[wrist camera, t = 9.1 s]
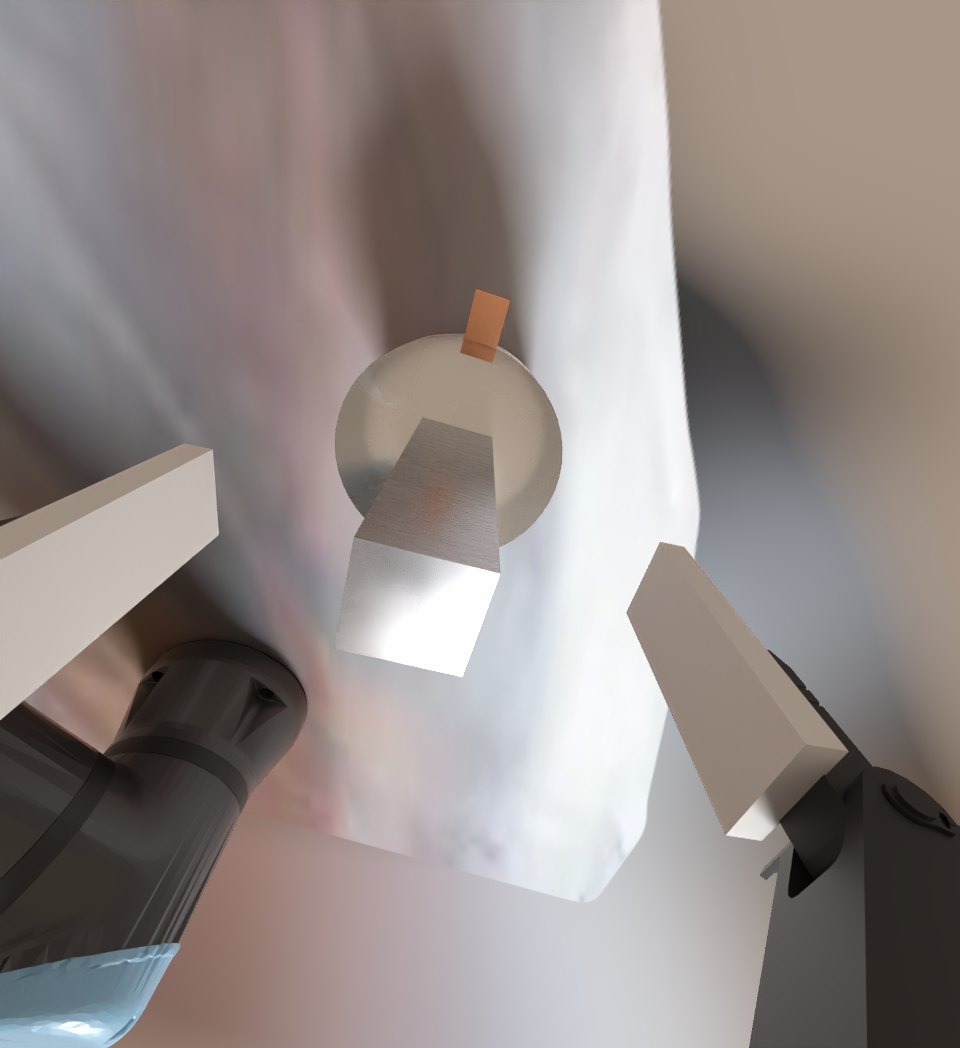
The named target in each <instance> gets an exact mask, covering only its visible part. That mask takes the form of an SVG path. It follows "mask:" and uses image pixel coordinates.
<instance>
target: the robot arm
mask: <svg viewBox="0 0 960 1048" xmlns="http://www.w3.org/2000/svg"><path fill="white" fill-rule="evenodd" d="M218 535H219V529H218V515H217V502H216V488H215V475H214V461H213V449H208V448H203V447H199V446H194V445H189V444H182V445H180V446H177V447H175V448H173V449H171V450H168V451H166V452H164V453H162V454H160V455H157V456H155V457H153V458H151V459H149V460H146V461H144V462H142V463H140V464H138V465H135V466H133V467H131V468H129V469H126V470H124V471H122V472H120V473H118V474H115V475H113V476H111V477H109V478H107V479H104V480H102V481H100V482H98V483H96V484H93V485H91V486H89V487H87V488H84V489H82V490H80V491H78V492H76V493H73V494H71V495H69V496H67V497H65V498H62V499H60V500H58V501H56V502H54V503H51V504H49V505H47V506H45V507H42V508H40V509H38V510H36V511H34V512H31V513H29V514H25V515H21V516H18V517H14V518H10V519H6V520H2V521H0V1048H107V1047H109V1046H111V1045H112V1044H114V1043H115V1042H117V1041H118V1040H119V1039H120V1038H122V1037H123V1036H124V1035H125V1034H126V1033H127V1032H128V1031H129V1030H130V1029H131V1028H132V1027H133V1025H134V1024H135V1023H136V1021H137V1020H138V1018H139V1017H140V1016H141V1014H142V1012H143V1011H144V1009H145V1007H146V1005H147V1003H148V1001H149V1000H150V997H151V996H152V994H153V992H154V990H155V988H156V987H157V985H158V983H159V981H160V979H161V978H162V976H163V974H164V972H165V971H166V969H167V967H168V965H169V963H170V961H171V959H172V958H173V956H175V955H176V953H177V952H178V950H179V948H180V945H181V944H179V942H180V940H181V938H182V936H183V934H184V932H185V930H186V928H187V926H188V924H189V921H190V919H191V917H192V915H193V913H194V911H195V909H196V907H197V904H198V902H199V900H200V898H201V896H202V894H203V892H204V890H205V888H206V886H207V884H208V881H209V879H210V877H211V875H212V873H213V871H214V869H215V867H216V864H217V862H218V860H219V858H220V856H221V854H222V852H223V850H224V848H225V846H226V844H227V841H228V839H229V837H230V835H231V833H232V831H233V829H234V827H235V825H236V822H237V820H238V818H239V816H240V813H241V812H242V810H243V808H244V806H245V804H246V802H247V800H248V798H249V796H250V794H251V793H252V791H253V790H254V789H255V788H256V787H257V786H258V785H259V783H260V782H261V781H262V780H263V779H264V778H265V777H266V775H267V774H268V773H269V772H270V771H271V770H272V769H273V767H274V766H275V765H276V764H277V763H278V762H279V761H280V759H281V758H282V757H283V756H284V755H285V754H286V753H287V751H288V750H289V749H290V748H291V747H292V746H293V744H294V742H295V741H296V739H297V737H298V735H299V733H300V730H301V728H302V726H303V723H304V721H305V718H306V715H307V702H306V698H305V694H304V692H303V690H302V688H301V686H300V685H299V683H298V682H297V680H296V679H295V678H294V677H293V676H292V674H291V673H290V672H289V671H288V670H286V669H285V668H284V667H283V666H282V665H280V664H279V663H278V662H276V661H275V660H273V659H272V658H270V657H268V656H266V655H265V654H263V653H261V652H258V651H256V650H254V649H251V648H248V647H246V646H242V645H239V644H235V643H230V642H224V641H213V640H204V641H194V642H189V643H185V644H181V645H179V646H176V647H174V648H172V649H170V650H169V651H167V652H166V653H164V654H163V655H162V656H161V657H160V658H159V659H158V660H157V661H156V663H155V664H154V665H153V666H152V667H151V668H150V669H149V670H148V671H147V672H146V674H145V675H144V676H143V678H142V679H141V681H140V683H139V685H138V687H137V689H136V691H135V694H134V696H133V698H132V701H131V703H130V705H129V707H128V710H127V712H126V714H125V717H124V719H123V721H122V723H121V726H120V728H119V730H118V733H117V735H116V737H115V739H114V741H113V743H112V744H111V745H110V747H109V748H108V749H107V750H106V751H105V753H104V754H102V753H100V752H99V751H97V750H96V749H95V748H93V747H92V746H90V745H89V744H87V743H86V742H84V741H83V740H82V739H80V738H79V737H77V736H76V735H74V734H73V733H71V732H70V731H68V730H67V729H65V728H64V727H62V726H61V725H59V724H58V723H56V722H55V721H53V720H52V719H50V718H49V717H47V716H46V715H44V714H43V713H41V712H40V711H38V710H37V709H35V708H34V707H32V706H31V705H29V704H28V703H26V702H25V701H23V700H25V699H26V698H27V697H28V696H29V695H31V694H32V693H33V692H34V691H35V690H36V689H38V688H39V687H40V686H41V685H42V684H43V683H45V682H46V681H47V680H48V679H49V678H51V677H52V676H53V675H54V674H55V673H56V672H58V671H59V670H60V669H61V668H62V667H64V666H65V665H66V664H67V663H68V662H69V661H71V660H72V659H73V658H74V657H75V656H77V655H78V654H79V653H80V652H81V651H82V650H84V649H85V648H86V647H87V646H88V645H89V644H91V643H92V642H93V641H94V640H95V639H97V638H98V637H99V636H100V635H101V634H102V633H104V632H105V631H106V630H107V629H108V628H110V627H111V626H112V625H113V624H114V623H115V622H117V621H118V620H119V619H120V618H121V617H122V616H124V615H125V614H126V613H127V612H128V611H130V610H131V609H132V608H133V607H134V606H135V605H137V604H138V603H139V602H140V601H141V600H143V599H144V598H145V597H146V596H147V595H148V594H150V593H151V592H152V591H153V590H154V589H156V588H157V587H158V586H159V585H160V584H161V583H163V582H164V581H165V580H166V579H167V578H168V577H170V576H171V575H172V574H173V573H174V572H176V571H177V570H178V569H179V568H180V567H181V566H183V565H184V564H185V563H186V562H187V561H189V560H190V559H191V558H192V557H193V556H194V555H196V554H197V553H198V552H199V551H200V550H201V549H203V548H204V547H205V546H206V545H207V544H209V543H210V542H211V541H212V540H213V539H214V538H216V537H217V536H218ZM627 615H628V617H629V620H630V622H631V624H632V626H633V629H634V631H635V633H636V635H637V638H638V640H639V642H640V644H641V647H642V649H643V651H644V653H645V656H646V658H647V660H648V662H649V664H650V667H651V669H652V671H653V673H654V676H655V678H656V680H657V682H658V685H659V687H660V689H661V691H662V694H663V696H664V698H665V700H666V703H667V705H668V707H669V709H670V711H671V714H672V716H673V718H674V721H675V723H676V725H677V727H678V730H679V732H680V734H681V736H682V738H683V741H684V743H685V745H686V748H687V750H688V752H689V754H690V756H691V759H692V761H693V763H694V765H695V768H696V770H697V772H698V774H699V777H700V779H701V781H702V783H703V785H704V788H705V790H706V792H707V795H708V797H709V799H710V801H711V804H712V806H713V808H714V810H715V813H716V815H717V817H718V819H719V822H720V824H721V826H722V828H723V830H724V833H725V835H727V836H734V837H741V838H747V839H754V840H761V841H763V840H764V838H766V837H767V836H768V835H769V833H770V832H771V831H772V830H773V829H774V828H775V827H776V826H777V825H778V824H779V823H781V825H782V827H783V829H784V830H785V832H786V834H787V836H788V837H789V839H790V841H791V842H790V843H789V844H788V845H787V846H786V847H785V848H784V849H783V850H782V851H781V852H780V853H779V854H777V855H776V856H775V857H774V858H773V859H772V860H771V861H770V862H769V863H768V864H767V865H766V866H765V867H764V869H763V871H762V872H761V874H760V876H762V877H763V878H764V879H766V880H767V879H768V878H769V877H770V876H771V875H772V874H773V873H777V872H778V876H777V881H776V887H775V894H774V900H773V906H772V912H771V918H770V924H769V930H768V936H767V942H766V948H765V955H764V961H763V967H762V973H761V979H760V985H759V991H758V997H757V1003H756V1009H755V1016H754V1021H753V1028H752V1034H751V1040H750V1046H749V1048H960V826H958V825H957V824H956V823H955V822H954V820H953V819H952V818H951V817H950V816H949V814H948V813H947V812H946V811H945V810H944V808H943V807H942V806H940V805H939V804H938V803H937V802H936V801H935V800H934V799H933V798H932V797H931V796H929V795H928V794H927V793H926V792H925V791H924V790H922V789H921V788H919V787H918V786H916V785H915V784H914V783H912V782H911V781H909V780H908V779H906V778H904V777H902V776H900V775H898V774H896V773H894V772H892V771H890V770H887V769H883V768H880V767H873V766H872V765H871V764H870V763H869V762H868V761H867V759H866V758H865V757H864V756H863V755H862V753H861V752H860V751H859V750H858V748H857V747H856V746H855V745H854V744H853V742H852V741H851V740H850V739H849V738H848V736H847V735H846V734H845V733H844V732H843V730H842V729H841V728H840V727H839V726H838V724H837V723H836V722H835V721H834V720H833V718H832V717H831V716H830V715H829V714H828V712H827V711H826V710H825V709H824V708H823V707H822V706H819V701H818V700H817V699H816V698H815V697H814V695H813V694H812V693H811V692H810V691H809V690H806V686H805V685H804V683H803V682H802V681H801V680H800V679H799V678H798V676H797V675H796V674H795V673H794V671H793V670H792V669H791V668H790V667H789V666H788V665H787V664H785V663H784V662H783V661H782V660H780V659H779V658H778V657H777V656H776V655H774V654H773V653H772V652H771V651H770V650H767V649H766V648H765V647H764V646H763V644H762V643H761V642H760V641H759V639H758V638H757V637H756V636H755V635H754V634H753V632H752V631H751V630H750V628H749V627H748V626H747V625H746V623H745V622H744V621H743V620H742V618H741V617H740V616H739V615H738V614H737V612H736V611H735V610H734V608H733V607H732V606H731V605H730V603H729V602H728V601H727V600H726V599H725V597H724V596H723V595H722V594H721V592H720V591H719V590H718V589H717V587H716V586H715V585H714V584H713V583H712V581H711V580H710V579H709V577H708V576H707V575H706V574H705V572H704V571H703V570H702V569H701V567H700V566H699V565H698V564H697V562H696V561H695V560H694V559H693V557H692V556H691V555H690V554H689V553H688V551H687V550H686V549H685V548H684V547H682V546H677V545H672V544H667V543H663V542H660V543H659V545H658V548H657V550H656V552H655V554H654V556H653V558H652V560H651V562H650V564H649V566H648V569H647V571H646V573H645V575H644V577H643V579H642V581H641V583H640V585H639V587H638V589H637V592H636V594H635V596H634V598H633V600H632V602H631V604H630V606H629V608H628V610H627Z"/></svg>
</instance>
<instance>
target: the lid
mask: <svg viewBox="0 0 960 1048" xmlns="http://www.w3.org/2000/svg"><path fill="white" fill-rule="evenodd" d="M509 304H510V300H508V299H505V298H502V297H499V296H496V295H493V294H490V293H487V292H484V291H481V290H478V289H476V291H475V295H474V299H473V303H472V307H471V311H470V315H469V319H468V323H467V327H466V331H465V335H464V334H454V333H449V334H436V335H430V336H425V337H422V338H419V339H416V340H413V341H410V342H408V343H406V344H404V345H401V346H399V347H397V348H395V349H393V350H391V351H390V352H388V353H386V354H384V355H383V356H381V357H380V358H379V359H377V360H376V361H374V362H373V363H372V364H371V365H370V366H369V367H368V368H367V369H366V370H365V371H364V372H363V373H362V374H361V375H360V376H359V377H358V379H357V380H356V381H355V383H354V384H353V385H352V387H351V388H350V390H349V392H348V394H347V396H346V398H345V399H344V402H343V404H342V407H341V410H340V413H339V416H338V421H337V426H336V434H335V452H336V461H337V466H338V471H339V474H340V477H341V480H342V483H343V485H344V487H345V489H346V492H347V494H348V496H349V498H350V499H351V501H352V502H353V504H354V505H355V507H356V508H357V510H358V511H359V512H360V513H361V514H362V516H363V517H364V518H365V519H364V520H363V522H362V524H361V526H360V527H359V529H358V531H357V533H356V534H355V536H354V540H353V545H352V551H351V556H350V562H349V568H348V573H347V579H346V585H345V590H344V596H343V601H342V607H341V613H340V618H339V624H338V630H337V635H336V641H335V646H334V649H338V650H343V651H347V652H352V653H357V654H361V655H366V656H370V657H375V658H379V659H384V660H389V661H393V662H398V663H402V664H407V665H411V666H416V667H421V668H425V669H430V670H434V671H439V672H443V673H448V674H453V675H457V676H462V675H463V672H464V670H465V667H466V664H467V662H468V659H469V656H470V654H471V651H472V648H473V645H474V643H475V640H476V637H477V635H478V632H479V629H480V627H481V624H482V621H483V619H484V616H485V613H486V611H487V608H488V605H489V603H490V600H491V597H492V595H493V592H494V589H495V587H496V584H497V581H498V578H499V576H500V561H499V547H501V546H503V545H505V544H507V543H509V542H510V541H512V540H514V539H515V538H517V537H518V536H519V535H521V534H522V533H524V532H525V531H526V530H527V529H528V528H529V527H530V526H531V525H532V524H533V523H534V522H535V521H536V520H537V519H538V517H539V516H540V515H541V514H542V512H543V511H544V509H545V508H546V506H547V505H548V503H549V501H550V499H551V497H552V495H553V493H554V491H555V488H556V485H557V482H558V479H559V475H560V470H561V464H562V439H561V432H560V428H559V423H558V419H557V417H556V414H555V411H554V409H553V406H552V404H551V402H550V400H549V399H548V397H547V395H546V393H545V391H544V390H543V389H542V387H541V386H540V384H539V383H538V382H537V380H536V379H535V378H534V376H533V375H532V374H531V372H530V371H529V370H528V369H527V368H526V367H525V366H524V365H523V364H522V362H521V361H520V360H519V359H517V358H516V357H515V356H513V355H512V354H511V353H509V352H508V351H507V350H505V349H503V348H501V347H500V346H498V342H499V339H500V335H501V332H502V328H503V325H504V321H505V318H506V314H507V311H508V307H509Z"/></svg>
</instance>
